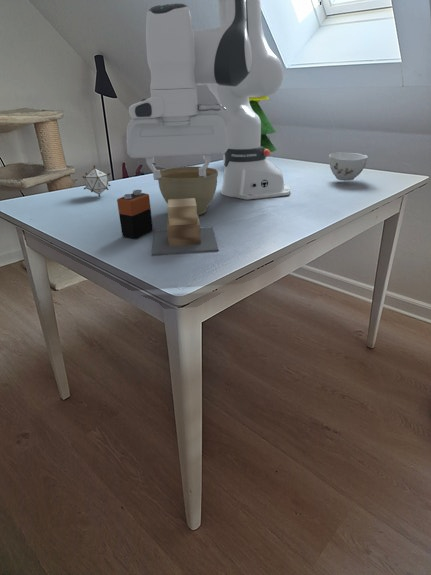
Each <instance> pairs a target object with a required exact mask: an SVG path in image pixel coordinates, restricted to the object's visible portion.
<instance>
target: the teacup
mask: <svg viewBox="0 0 431 575" xmlns="http://www.w3.org/2000/svg"><path fill="white" fill-rule="evenodd" d="M367 161H368V155H366V154H362V153H356V152H344V151H343V152H341V151H339V152H333V153H330V154H329V155H328V162H329V168H330V170H331V172H332V174H333V175H334V176H335V178H336V179H337V180H339V181H346V182H348V181H354V180H355V178H357V177H358V176H359V175H360V174H361V173H362V171H363V170H364V169H365V167H366V164H367V163H368V162H367Z"/></svg>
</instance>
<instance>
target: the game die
mask: <svg viewBox="0 0 431 575" xmlns="http://www.w3.org/2000/svg"><path fill="white" fill-rule="evenodd" d="M110 175H111V173H110V172H108V173H106V172H104V171H102V170H100V169H98V168H96V165H93V168H92V169H91V170H90V171H89V172H88V173H87V172H85V176H82V178H83V179H84V183H85V184H84V185H85V186H84V187H83V190H86V189H87V190H88V191H90V193H94V194H97V195H98V197H99V198H100V197H101V194H102V193H103V192H105V191H108V190H109V187H111V184H109V176H110Z"/></svg>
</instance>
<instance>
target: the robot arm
mask: <svg viewBox="0 0 431 575" xmlns="http://www.w3.org/2000/svg"><path fill="white" fill-rule="evenodd" d="M261 6H262V5H261V0H218V12H219V13H218V15H219V27H216V28H204V29H202V28H201V29H193V28H194V27H193V21H192V20H193V19H192V16H191V10H190V8H189V6H188V5H186V4H185V3H170V4H168V3H166V4H161V5H155V6H153V7H151V8H150V9H148V11H147V12H146V17H145V19H146V21H145V44H146V47H145V48H146V59H147V60H146V61H147V65H148V68H149V71H150V85H149V86H150V88H149V89H150V91H149V92H150V97H149V98H142V99H141V100H140V101H138V102H136V103H133V104H131V105H130V106H129V107H128V114H129V117H130V118H131V119H130V120H129V122H128V123H127V126H126V134H125V135H126V138H125V139H126V141H125V142H126V152H127V155H128V156H129V157H130V158H131V159H145V160H146V165H147V166H148V168H149V170H151V172H152V173H153V174H152V175H153V180H154V181H158V180H161V175H160V174H161V172H160V171H161V169H157V168H156V167H155V165H154V162H155V158H166V157H167V158H169V157H170V158H171V157H186V156H187V157H188V156H203V161H204V163H203V164H202V166H200V167H201V168H199V178H201V177H206V169H207V167H208V168H209V165H210V163H211V161H212V156H213V155H223V156H222V157H223V159H222V160H223V161H222V162H223V165H224V171H223V181H222V186H221V190H220V194H222V195H223V196H226V197H229V198H230V197H231V198H238V199H241V200H246V201H247V200H253V199H255V200H256V199H257V200H258V199H264V198H274V197H281V196H289V195H290V194H291V188H290V186H289V185H287V184H285V183H284V176H283V173H282V171H281V170H280V169H279V168H278V167H277V166H276V165H274V164H273V163H272V162H271V161H269V159H267V157H270V155H271V153H272V152H270V150H268V149H265V148H263V147H262V146H260V143H261V120H260V118H259V116H258V115H257V114H256V113H255V112H254V111H253V110H252V108H251V106H250V103H249V102H250V100H249V98H248V97H264V96H267V97H268V96H270V95H273V94H276V93H277V91H279V90H280V88H281V86H282V82H283V79H284V68H283V64H282V62H281V60H280V58H279V57H278V56H277V55H276V54H275V53H274V52H273V50H272V49H271V48H270V46H269V44H268V41H267V39H266V36H265V33H264V28H263V23H262V9H261V8H262V7H261ZM198 86H207V88H208V90H209V91H210V92H211V93H212V94H213V95H214V97H215V99H216V100H217V102H218V103H214V104H205V103H202V104H199V102H198V101H199V100H198Z"/></svg>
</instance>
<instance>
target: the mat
mask: <svg viewBox="0 0 431 575" xmlns="http://www.w3.org/2000/svg"><path fill="white" fill-rule="evenodd" d="M200 237H201V244H197V245H181V246H169V243H168V232H167V229H163V230H162V229H159V230H154V234H153V242H152V250H151V256H162V255H178V254H194V253H195V254H196V253H208V252H219V245H218V242H217V239H216V235H215V231H214V227H212V226H211V227H200Z"/></svg>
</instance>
